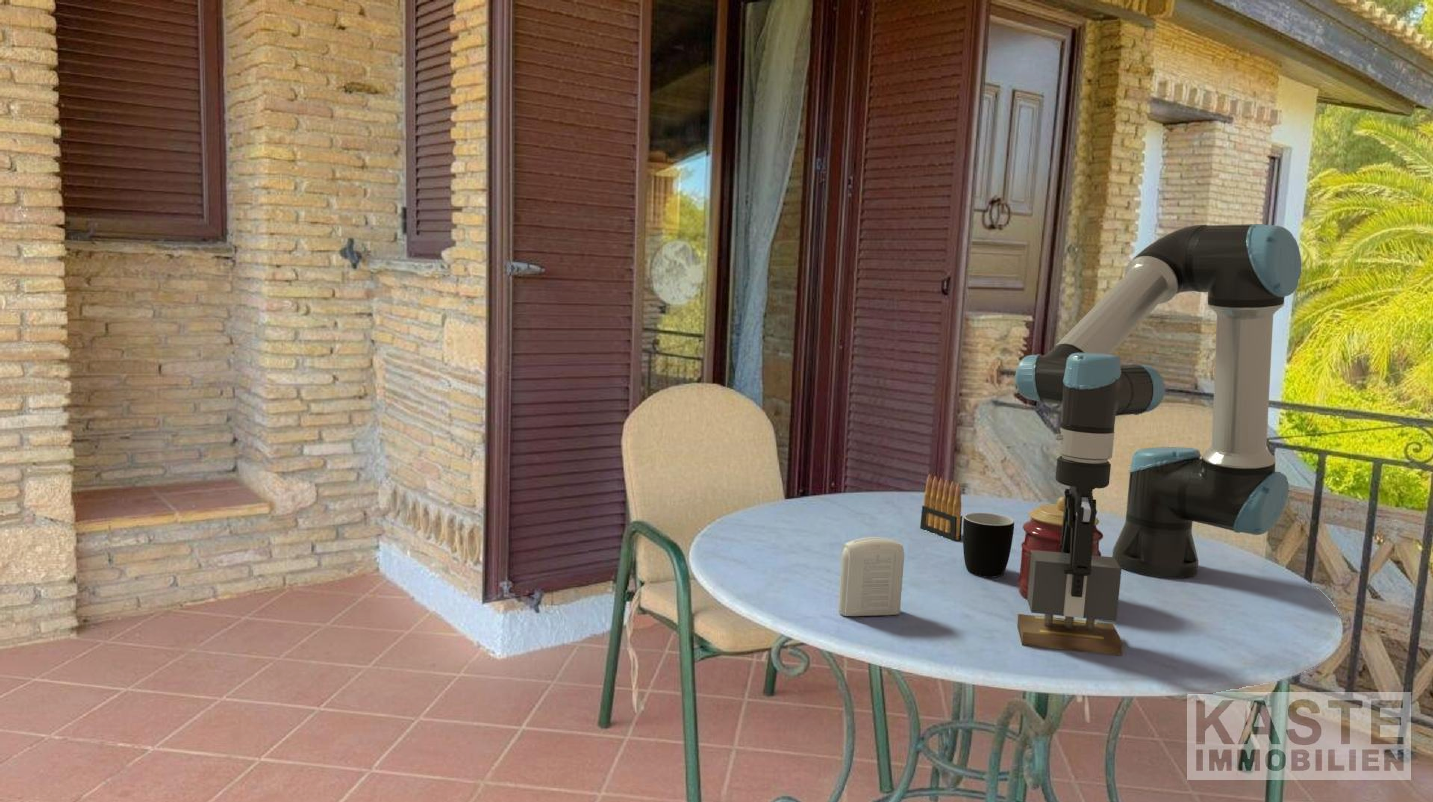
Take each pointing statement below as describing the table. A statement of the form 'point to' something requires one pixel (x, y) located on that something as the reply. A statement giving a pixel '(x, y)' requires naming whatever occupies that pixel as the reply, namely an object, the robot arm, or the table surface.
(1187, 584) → the table surface
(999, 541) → the mug
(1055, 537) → the canister
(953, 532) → the ammunition clip
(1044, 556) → the grey bevelled block
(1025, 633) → the block
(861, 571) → the photo printer
